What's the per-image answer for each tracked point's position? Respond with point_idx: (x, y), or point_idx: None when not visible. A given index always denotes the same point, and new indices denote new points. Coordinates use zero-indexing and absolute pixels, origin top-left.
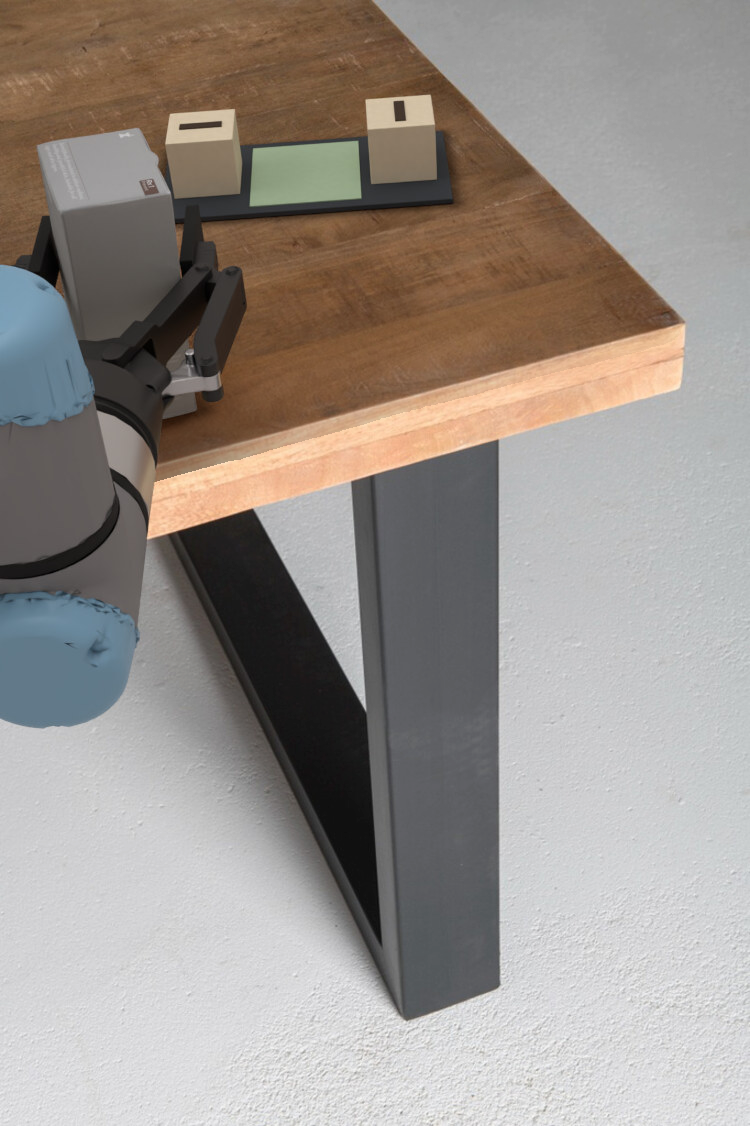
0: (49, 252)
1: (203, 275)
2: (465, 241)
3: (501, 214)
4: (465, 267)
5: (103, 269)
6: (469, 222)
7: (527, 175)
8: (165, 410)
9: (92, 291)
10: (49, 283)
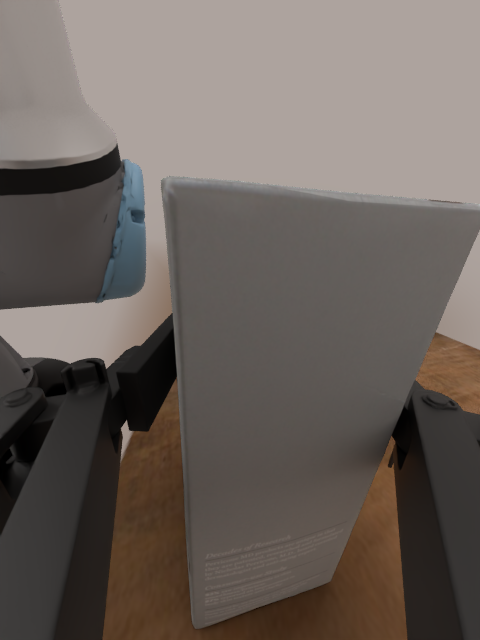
0: (170, 345)
1: (466, 424)
2: (451, 369)
3: (454, 354)
4: (475, 389)
5: (263, 396)
6: (439, 357)
7: (443, 335)
8: (293, 590)
9: (225, 445)
10: (158, 387)
